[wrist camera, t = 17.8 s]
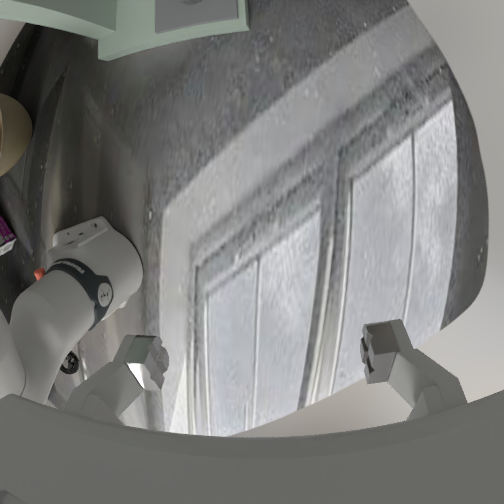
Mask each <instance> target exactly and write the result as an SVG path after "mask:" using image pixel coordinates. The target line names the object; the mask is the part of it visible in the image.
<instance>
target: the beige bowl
mask: <svg viewBox="0 0 504 504" xmlns="http://www.w3.org/2000/svg"><path fill="white" fill-rule="evenodd" d="M31 137H32V121H31V118H30V116H29V114H28V112H27V111H26V110H25V108H24V107H23V106H22V105H21V104H20V103H19V102H18V101H16V100H15V99H13V98H12V97H10V96H8V95H5V94H2V93H0V176H2V175H3V174H5V173H6V172H7V171H8V170H9V169H10V168H12V167H13V166H14V165H15V164H16V162H17V161H18V160H19V159H20V158H21V156H22V155H23V153H24V152H25V150H26V149H27V147H28V145H29V143H30V140H31Z"/></svg>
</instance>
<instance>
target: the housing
mask: <svg viewBox="0 0 504 504" xmlns="http://www.w3.org/2000/svg"><path fill="white" fill-rule="evenodd" d="M178 1H180V2H181V3H183V4H186V5H192V4H196V3H199V2H201V1H202V0H178Z"/></svg>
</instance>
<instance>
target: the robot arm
mask: <svg viewBox="0 0 504 504" xmlns="http://www.w3.org/2000/svg"><path fill="white" fill-rule="evenodd" d="M96 224H97V226H96ZM47 267H48V271H47V272H46V274H45V271H44V268H40V269H37V270H36V271H35V272H34V274H35V276H36V278H37V282H35V283H34V284H33V285H31V286H30V287H29V288H27V289H26V290H25V291H24V292H22V293H21V294H20V295H19V296H18V298H17V299H16V301H15V303H14V306H13V309H12V314H11V321H10V325H8V323H7V321H6V319H5V317H4V315H3V313H2V311H1V309H0V504H504V390H502V391H500V392H497V393H494V394H492V395H490V396H487V397H484V398H481V399H479V400H476V401H473V402H470V403H467V400H466V398H465V395H464V392H463V390H462V387H461V385H460V382H459V380H458V378H457V377H455V376H454V375H452V374H451V373H450V372H448V371H447V370H446V369H444V368H443V367H442V366H440V365H439V364H437V363H436V362H435V361H433V360H432V359H431V358H429V357H428V356H426V355H425V354H424V353H422V352H421V351H419V350H418V349H413V347H412V344H411V341H410V339H409V337H408V334H407V332H406V329H405V327H404V324H403V322H402V320H401V319H397V320H391V321H384V322H377V323H370V324H364V326H363V330H362V332H363V336H364V337H363V338H362V339H361V344H360V352H361V358H362V362H363V363H364V364H366V365H365V369H364V372H365V376H366V380H367V384H371V383H379V382H385V381H388V383H389V384H390V385H391V386H392V387H393V388H394V389H395V390H396V391H397V392H398V393H399V394H400V395H401V397H403V399H404V400H405V401H406V402H407V403H408V404H409V405H410V406H411V407H412V408H413V410H412V411H411V413H410V415H409V417H408V418H407V420H406V421H403V422H398V423H393V424H388V425H383V426H378V427H372V428H366V429H360V430H353V431H346V432H338V433H329V434H319V435H306V436H291V437H256V438H255V437H218V436H202V435H190V434H179V433H171V432H163V431H155V430H148V429H142V428H136V427H130V426H125V425H124V423H123V422H122V421H121V420H120V419H119V418H118V417H119V416H120V415H121V414H122V412H123V411H124V410H125V409H126V408H127V407H128V406H129V405H130V404H131V403H132V402H133V401H134V400H135V399H136V398H137V397H138V396H139V395H140V394H141V393H142V392H143V390H157V391H161V388H162V385H163V382H164V379H165V378H164V376H163V373H164V372H166V371H167V369H168V366H169V356H168V352H167V350H166V349H165V348H164V347H162V346H161V345H162V340H161V338H160V337H159V336H146V335H126V336H125V337H124V339H123V341H122V343H121V345H120V347H119V349H118V351H117V353H116V356H115V358H114V360H113V362H109V363H108V364H106V365H105V366H104V367H102V368H101V369H100V370H99V371H97V372H96V373H95V374H93V375H92V376H91V377H89V378H88V379H87V380H85V381H84V382H83V383H81V384H80V385H79V386H77V387H76V388H75V389H73V391H72V393H71V396H70V398H69V400H68V402H67V404H66V406H65V408H64V410H59V409H56V408H52V407H50V406H47V405H45V404H46V401H47V398H48V395H49V392H50V390H51V387H52V385H53V382H54V380H55V378H56V375H57V373H58V371H59V369H60V367H61V365H62V363H63V361H64V359H65V358H66V356H67V355H68V353H69V352H70V351H71V350H72V348H73V347H74V346H75V345H76V344H77V342H78V341H79V340H80V339H81V338H82V336H83V335H84V334H85V333H86V332H87V331H89V330H91V329H93V328H94V327H95V326H96V325H98V324H99V323H100V321H101V320H104V319H105V318H107V317H108V316H109V315H110V314H111V313H112V312H114V311H115V310H116V309H117V308H123V307H124V306H125V305H126V304H127V302H128V300H129V297H130V296H131V295H132V294H134V293H135V292H136V291H137V290H138V289H139V287H140V285H141V283H142V278H143V269H142V264H141V260H140V257H139V255H138V253H137V251H136V249H135V248H134V246H133V245H132V244H131V243H130V241H129V240H128V239H127V238H125V237H124V236H123V235H122V234H120V233H119V232H117V231H116V230H114V229H113V228H112V226H111V225H110V224H109V222H108V221H107V220H106V219H105V218H104V217H102V216H100V217H97V218H94V219H91V220H88V221H86V222H83V223H80V224H77V225H74V226H72V227H69V228H66V229H64V230H61V231H58V232H57V233H55V234H54V237H53V248H52V249H50V250H49V251H48V253H47Z"/></svg>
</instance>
